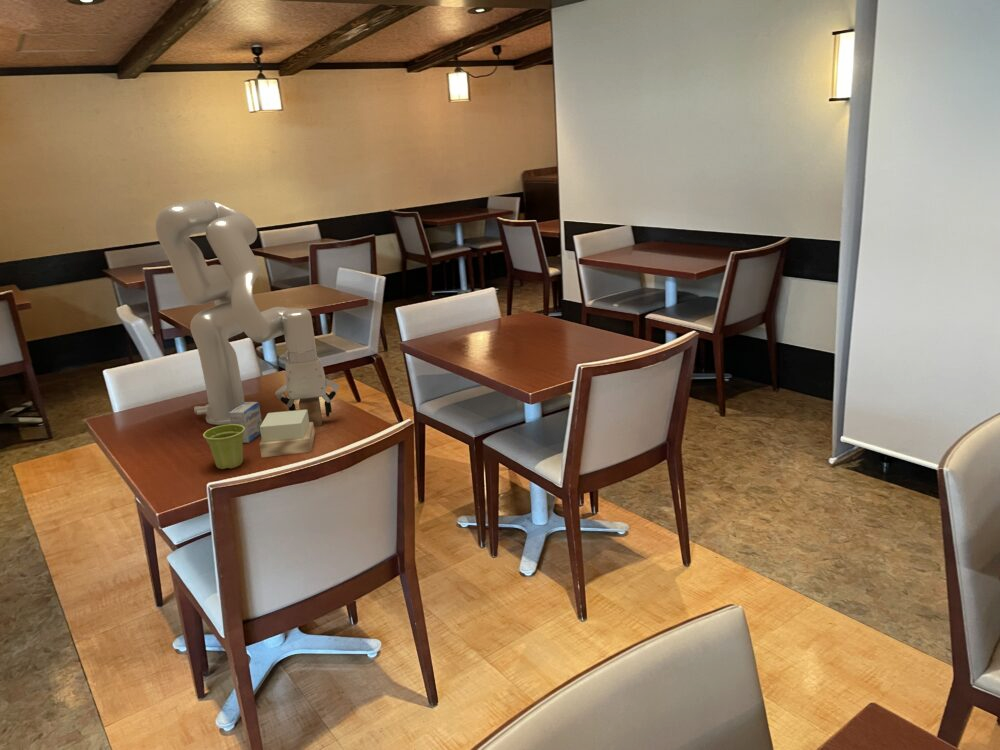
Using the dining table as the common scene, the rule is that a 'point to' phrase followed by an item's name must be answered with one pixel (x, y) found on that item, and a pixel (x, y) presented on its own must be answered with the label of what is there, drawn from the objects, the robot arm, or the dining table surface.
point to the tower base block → (289, 445)
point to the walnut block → (312, 409)
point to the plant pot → (226, 445)
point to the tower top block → (284, 425)
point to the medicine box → (247, 419)
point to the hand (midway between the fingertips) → (311, 416)
